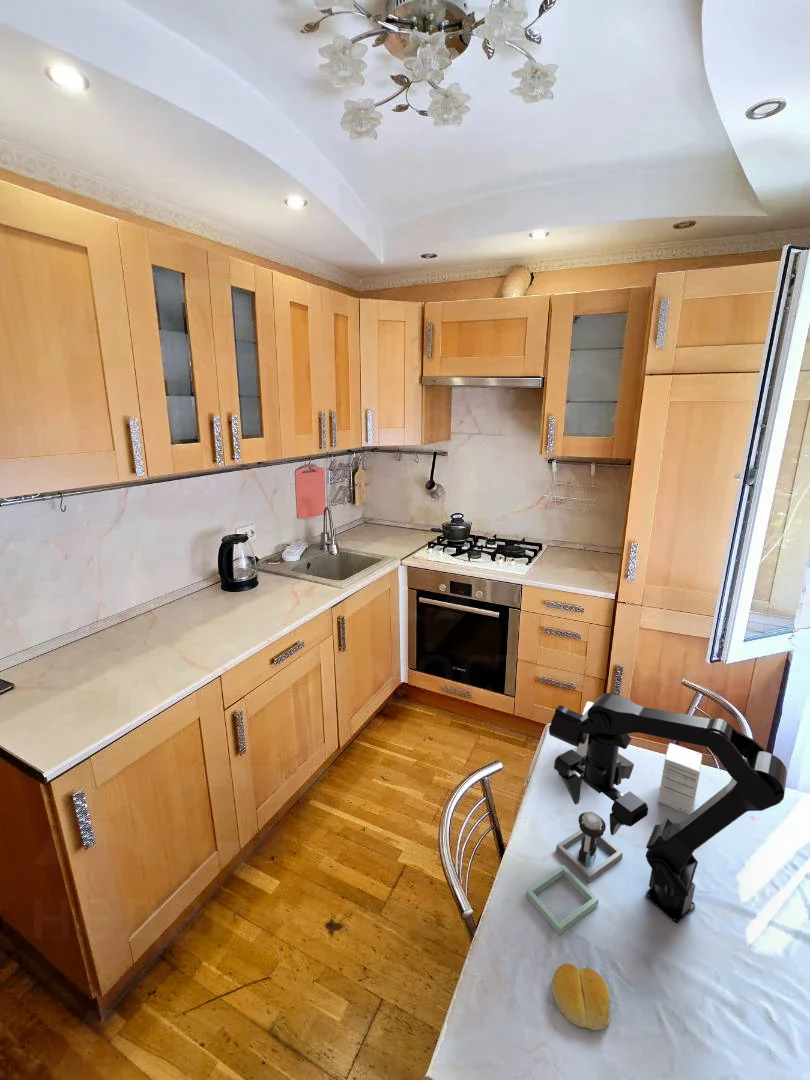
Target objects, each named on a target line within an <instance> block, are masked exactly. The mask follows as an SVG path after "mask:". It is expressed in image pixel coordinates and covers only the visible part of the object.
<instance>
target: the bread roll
mask: <svg viewBox="0 0 810 1080" xmlns="http://www.w3.org/2000/svg"><path fill="white" fill-rule="evenodd" d="M551 991H552V996H553V999H554V1002H555V1003H556V1005H557V1007H558V1009H559V1011H560V1012H561V1014H562V1015H563V1016H564V1017H565V1018H566V1020H567V1021H569V1022H570V1023H571V1024H573V1025H574V1026H577V1027H579V1028H582V1029H583V1028H585V1029H589V1030H593V1031H596V1030H599V1031H600V1030H602V1029H605V1028H606V1027H608V1025H609V1023H610V1021H611V1020H612V1017H611V998H610V986H609V985H608V984H607V983H606V981H605V979H604V978H603V977H602V976H601V975H600V974H599V973H598V972H596V970H594V969H592V968H589V967H588V968H582V969H578V968H577V967H576V966H575V965H574V964H572V963H563V964H561V965H560V966H558V967H557V969H556V970H555V972H554V974H553V977H552V980H551Z"/></svg>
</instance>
